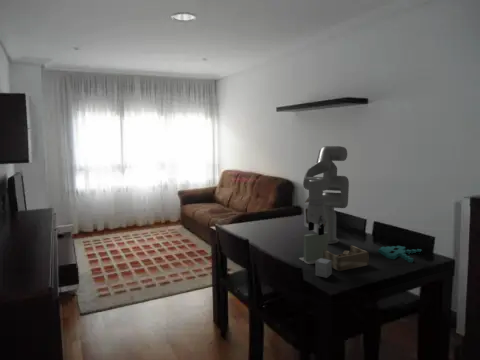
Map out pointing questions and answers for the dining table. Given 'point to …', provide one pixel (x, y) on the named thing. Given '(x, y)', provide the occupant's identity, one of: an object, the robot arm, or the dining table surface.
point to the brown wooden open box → (348, 259)
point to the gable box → (306, 216)
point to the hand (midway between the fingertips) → (316, 232)
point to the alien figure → (397, 252)
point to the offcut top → (345, 253)
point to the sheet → (315, 246)
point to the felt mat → (308, 261)
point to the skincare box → (323, 267)
